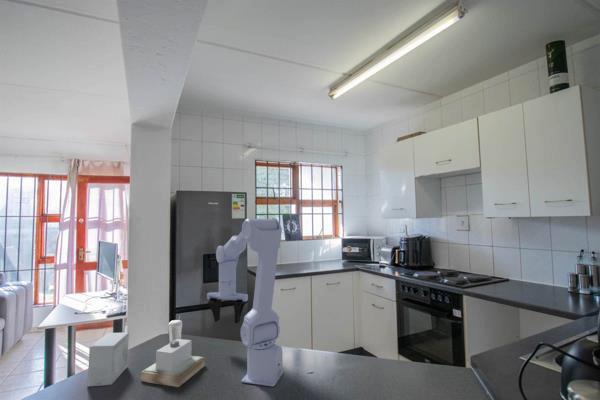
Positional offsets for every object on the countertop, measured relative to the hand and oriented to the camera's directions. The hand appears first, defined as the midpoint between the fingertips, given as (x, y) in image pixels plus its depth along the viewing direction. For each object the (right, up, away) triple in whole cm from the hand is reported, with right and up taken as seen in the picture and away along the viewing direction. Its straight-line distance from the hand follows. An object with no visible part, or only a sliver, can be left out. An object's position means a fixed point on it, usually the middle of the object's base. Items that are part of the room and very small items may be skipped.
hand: (227, 321), depth 103 cm
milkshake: (-19, -10, +3) cm, 21 cm away
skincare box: (-29, -9, -17) cm, 35 cm away
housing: (-11, -6, -16) cm, 20 cm away
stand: (-11, -8, -16) cm, 21 cm away
